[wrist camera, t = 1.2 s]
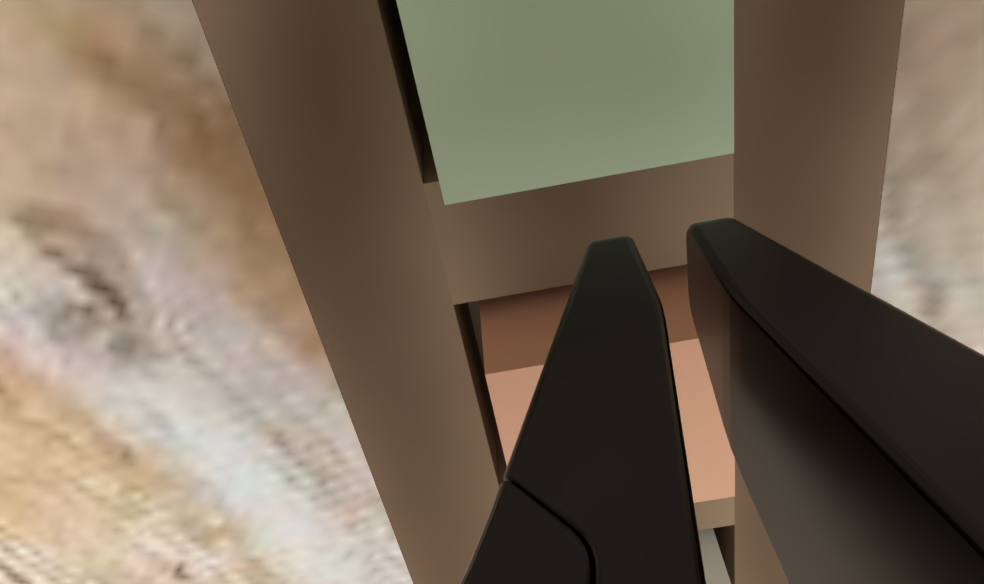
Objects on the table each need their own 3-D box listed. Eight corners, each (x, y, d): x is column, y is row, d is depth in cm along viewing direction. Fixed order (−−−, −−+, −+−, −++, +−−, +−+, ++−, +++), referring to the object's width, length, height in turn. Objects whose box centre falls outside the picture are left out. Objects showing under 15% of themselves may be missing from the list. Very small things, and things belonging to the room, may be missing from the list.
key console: (841, -433, 15) (958, -457, 11) (785, 560, 31) (827, 664, 28) (160, -286, 15) (89, -271, 12) (460, 611, 32) (464, 718, 29)
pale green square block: (680, -204, 14) (733, -174, 12) (690, 82, 17) (734, 152, 15) (381, -143, 14) (371, -101, 12) (442, 128, 17) (445, 205, 15)
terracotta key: (696, 247, 19) (734, 332, 17) (701, 405, 22) (734, 496, 20) (477, 286, 20) (485, 374, 17) (511, 437, 23) (522, 529, 20)
